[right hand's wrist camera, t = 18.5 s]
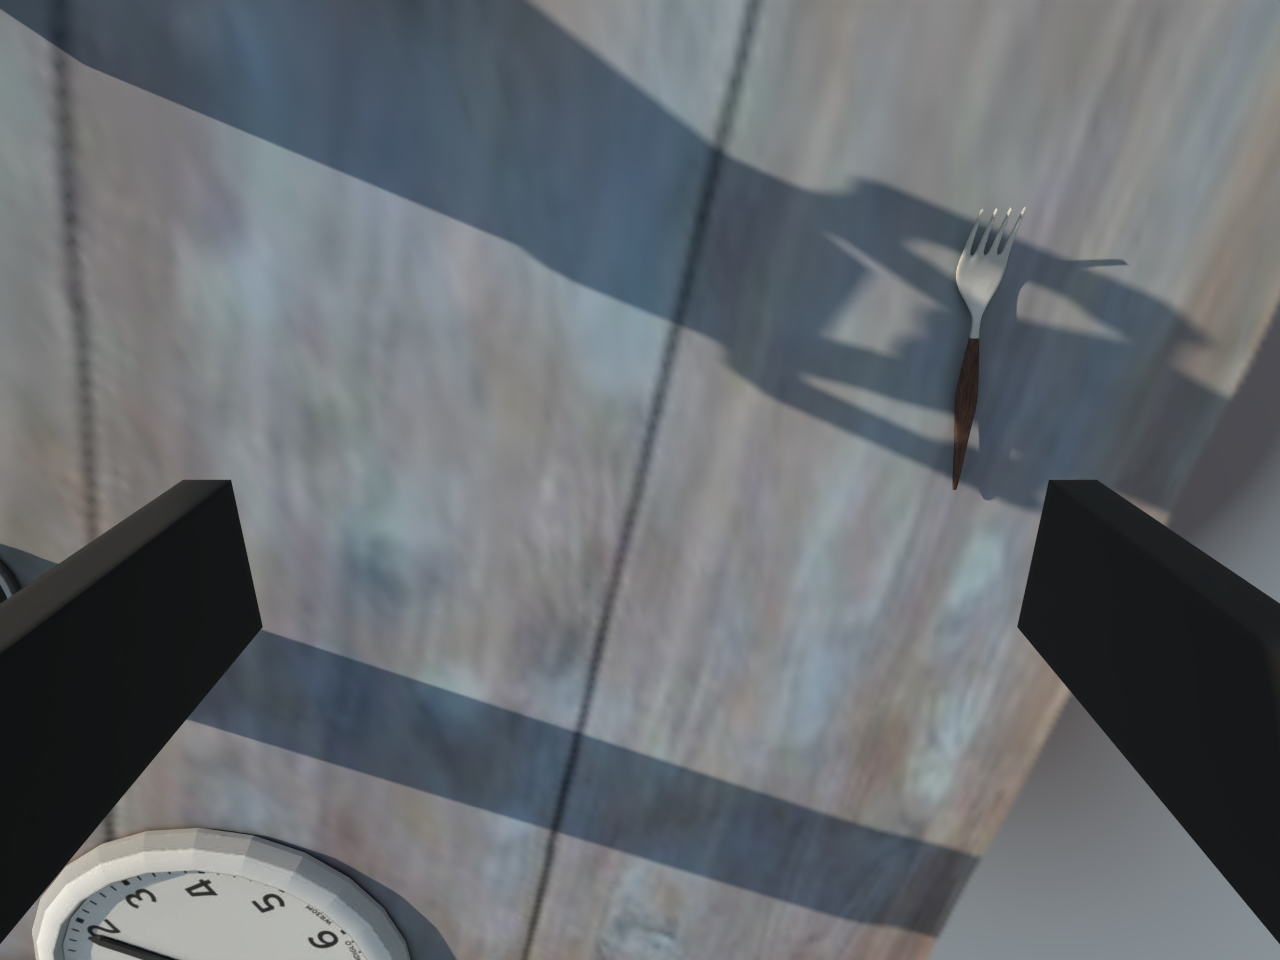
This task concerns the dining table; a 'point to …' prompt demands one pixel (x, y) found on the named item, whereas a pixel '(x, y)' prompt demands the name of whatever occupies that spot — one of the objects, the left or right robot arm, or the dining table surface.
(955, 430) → the fork
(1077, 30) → the dining table surface
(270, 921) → the wall clock
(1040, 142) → the dining table surface
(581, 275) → the dining table surface
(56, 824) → the right robot arm
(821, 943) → the dining table surface
